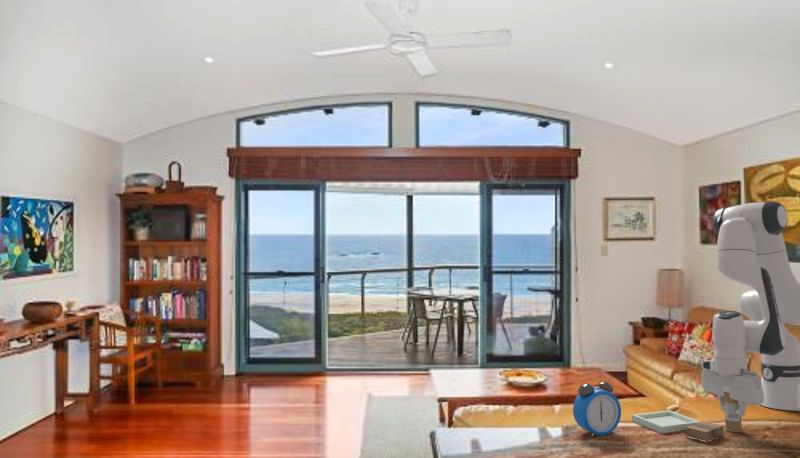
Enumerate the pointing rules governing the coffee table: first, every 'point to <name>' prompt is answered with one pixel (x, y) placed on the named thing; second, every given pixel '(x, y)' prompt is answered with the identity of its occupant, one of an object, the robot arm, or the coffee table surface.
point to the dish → (664, 421)
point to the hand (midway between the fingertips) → (732, 413)
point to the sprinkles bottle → (731, 412)
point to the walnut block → (704, 431)
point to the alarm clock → (597, 408)
